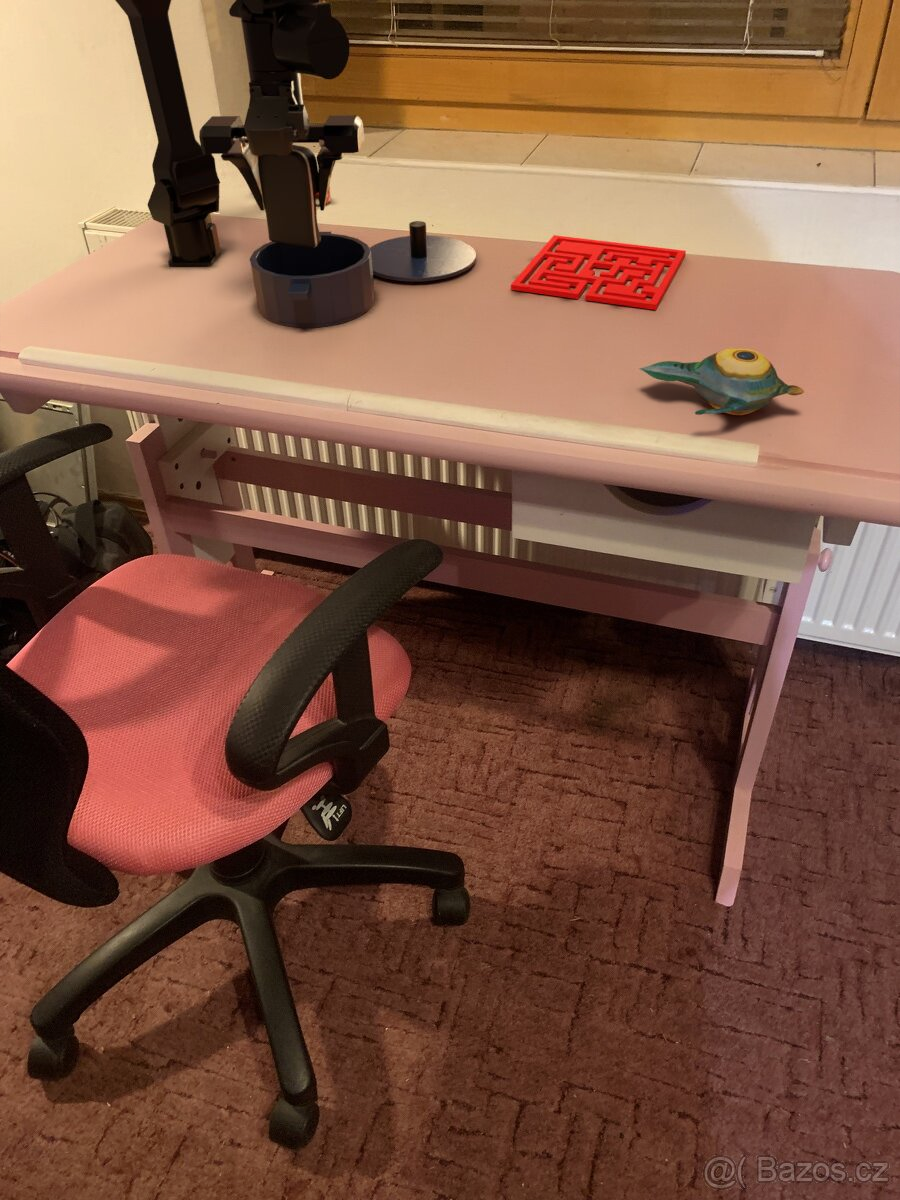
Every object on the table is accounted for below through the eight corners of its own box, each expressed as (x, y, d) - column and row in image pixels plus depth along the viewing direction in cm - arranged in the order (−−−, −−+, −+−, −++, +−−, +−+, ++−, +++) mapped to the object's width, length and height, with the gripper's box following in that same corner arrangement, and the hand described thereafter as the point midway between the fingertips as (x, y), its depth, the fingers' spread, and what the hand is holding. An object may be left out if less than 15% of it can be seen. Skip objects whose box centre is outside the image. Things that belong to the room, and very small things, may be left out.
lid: (355, 286, 123) (352, 245, 120) (369, 242, 136) (366, 204, 132) (474, 285, 122) (474, 244, 119) (477, 242, 135) (477, 203, 131)
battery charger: (329, 240, 114) (320, 144, 106) (314, 251, 111) (304, 153, 103) (282, 232, 116) (270, 137, 108) (267, 242, 113) (253, 146, 105)
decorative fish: (729, 368, 103) (740, 319, 99) (799, 417, 94) (813, 366, 90) (634, 391, 99) (640, 341, 95) (696, 444, 91) (706, 392, 87)
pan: (242, 337, 112) (233, 287, 108) (275, 272, 128) (267, 226, 123) (364, 337, 111) (359, 286, 107) (382, 272, 127) (378, 226, 122)
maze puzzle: (510, 289, 121) (510, 284, 120) (553, 239, 134) (553, 235, 134) (655, 309, 115) (656, 304, 114) (685, 255, 129) (685, 250, 128)
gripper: (172, 84, 94) (202, 232, 105) (345, 82, 93) (358, 232, 104) (199, 61, 103) (225, 201, 113) (358, 60, 102) (369, 201, 112)
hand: (292, 209), depth 110 cm, fingers closed on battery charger, 7 cm apart
